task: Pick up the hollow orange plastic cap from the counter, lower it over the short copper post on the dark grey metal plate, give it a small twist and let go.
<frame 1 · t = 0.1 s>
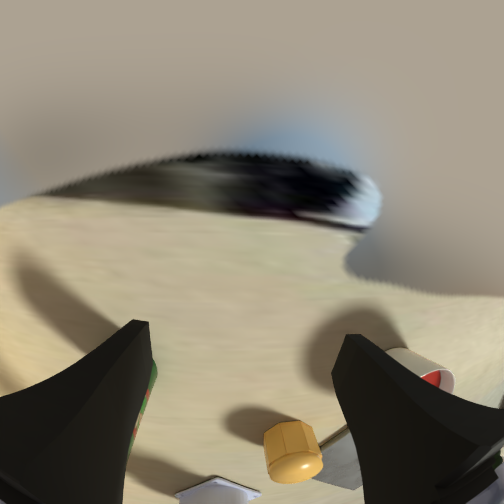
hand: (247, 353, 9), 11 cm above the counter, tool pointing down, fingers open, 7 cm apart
jar: (503, 439, 37), on the counter
orange cap: (287, 436, 23), on the counter
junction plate: (357, 458, 25), on the counter
candle: (384, 374, 23), on the counter
toy figurine: (501, 413, 31), on the counter
soda can: (131, 361, 20), on the counter
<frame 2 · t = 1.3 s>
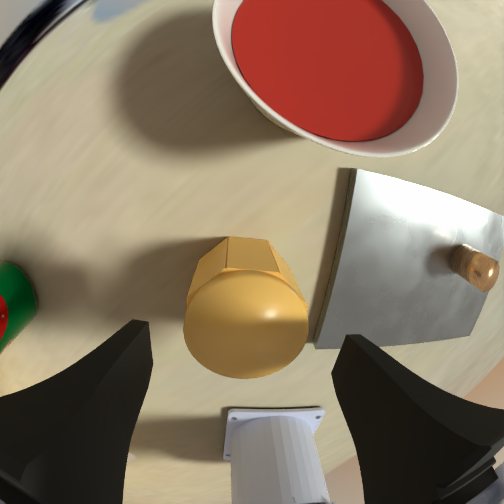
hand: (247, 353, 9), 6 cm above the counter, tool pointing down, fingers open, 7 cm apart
orange cap: (242, 281, 15), on the counter
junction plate: (431, 272, 16), on the counter
candle: (308, 76, 12), on the counter
soda can: (19, 288, 15), on the counter
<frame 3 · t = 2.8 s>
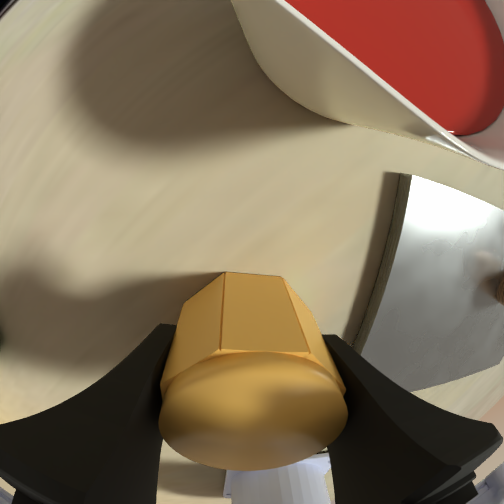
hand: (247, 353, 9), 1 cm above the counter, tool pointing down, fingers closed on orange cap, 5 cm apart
orange cap: (246, 331, 11), on the counter, touching gripper
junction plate: (474, 303, 11), on the counter
candle: (340, 41, 7), on the counter
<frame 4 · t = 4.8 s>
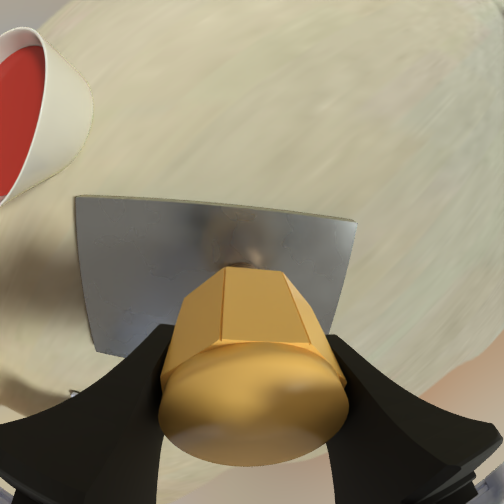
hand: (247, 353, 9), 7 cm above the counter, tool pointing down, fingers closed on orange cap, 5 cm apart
orange cap: (246, 326, 11), point 5 cm above the counter, touching gripper
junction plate: (205, 294, 16), on the counter
candle: (54, 122, 12), on the counter
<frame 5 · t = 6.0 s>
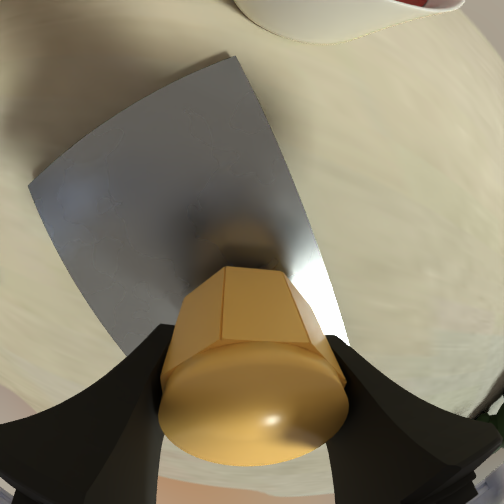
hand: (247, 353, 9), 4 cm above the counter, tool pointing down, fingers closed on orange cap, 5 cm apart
orange cap: (246, 325, 11), point 2 cm above the counter, touching gripper
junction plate: (195, 279, 12), on the counter
toy figurine: (477, 417, 23), on the counter
when the fingers open (4 cm above the counter, at t = 6.8 s): orange cap drops 1 cm, resting on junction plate.
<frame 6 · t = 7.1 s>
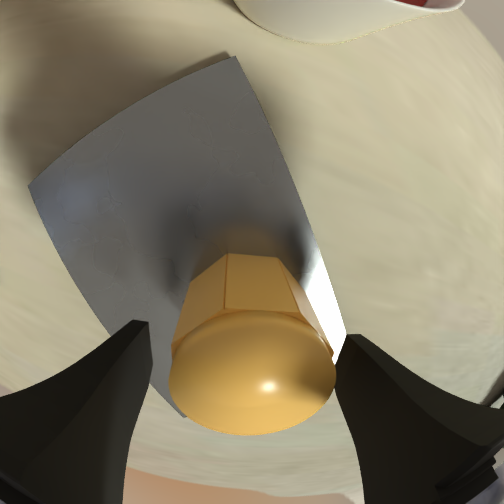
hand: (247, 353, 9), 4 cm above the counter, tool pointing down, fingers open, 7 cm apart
orange cap: (246, 308, 12), point 1 cm above the counter, touching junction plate
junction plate: (195, 279, 12), on the counter
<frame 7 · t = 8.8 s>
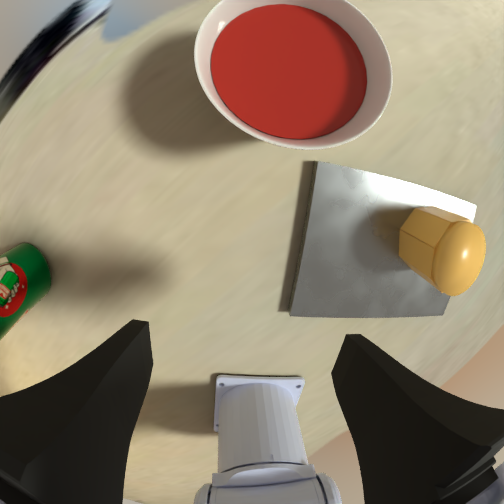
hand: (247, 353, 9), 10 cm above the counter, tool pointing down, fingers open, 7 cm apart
orange cap: (423, 238, 18), point 1 cm above the counter, touching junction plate
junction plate: (396, 252, 19), on the counter
candle: (278, 86, 15), on the counter
soda can: (35, 267, 18), on the counter
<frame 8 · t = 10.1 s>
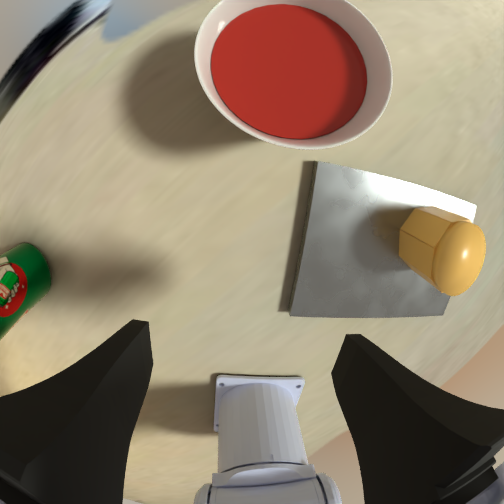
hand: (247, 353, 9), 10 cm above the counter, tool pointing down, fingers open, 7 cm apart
orange cap: (423, 238, 18), point 1 cm above the counter, touching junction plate
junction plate: (396, 252, 19), on the counter
candle: (278, 86, 15), on the counter
soda can: (35, 267, 18), on the counter
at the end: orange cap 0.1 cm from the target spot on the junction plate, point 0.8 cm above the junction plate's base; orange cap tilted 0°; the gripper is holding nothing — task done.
